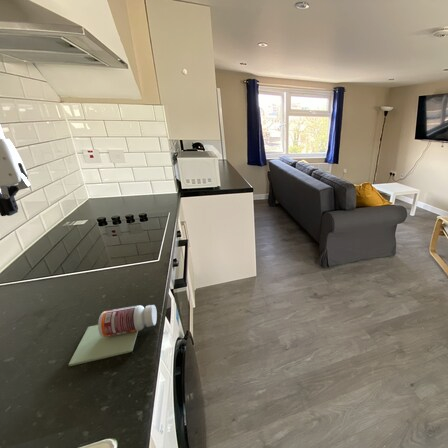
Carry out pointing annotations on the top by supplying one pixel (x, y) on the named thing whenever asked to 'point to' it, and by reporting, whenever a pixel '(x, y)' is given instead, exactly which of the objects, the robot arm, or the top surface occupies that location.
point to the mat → (102, 346)
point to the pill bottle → (126, 320)
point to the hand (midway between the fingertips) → (9, 214)
